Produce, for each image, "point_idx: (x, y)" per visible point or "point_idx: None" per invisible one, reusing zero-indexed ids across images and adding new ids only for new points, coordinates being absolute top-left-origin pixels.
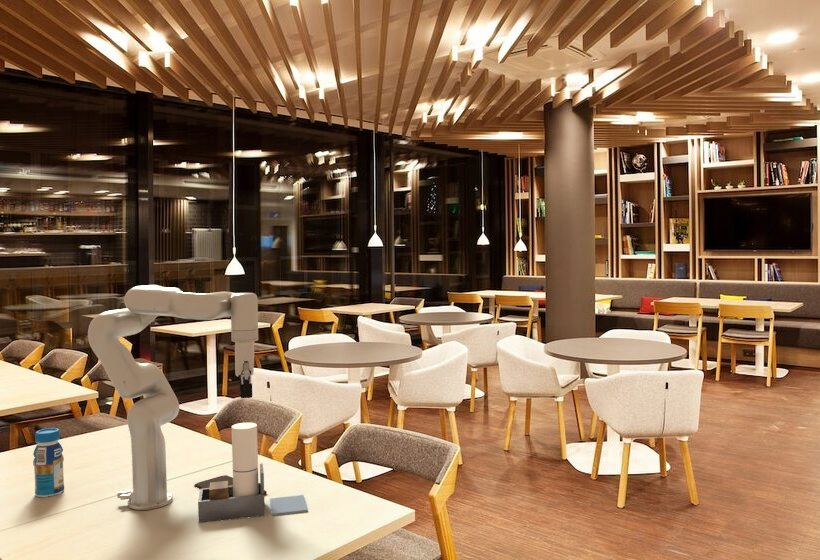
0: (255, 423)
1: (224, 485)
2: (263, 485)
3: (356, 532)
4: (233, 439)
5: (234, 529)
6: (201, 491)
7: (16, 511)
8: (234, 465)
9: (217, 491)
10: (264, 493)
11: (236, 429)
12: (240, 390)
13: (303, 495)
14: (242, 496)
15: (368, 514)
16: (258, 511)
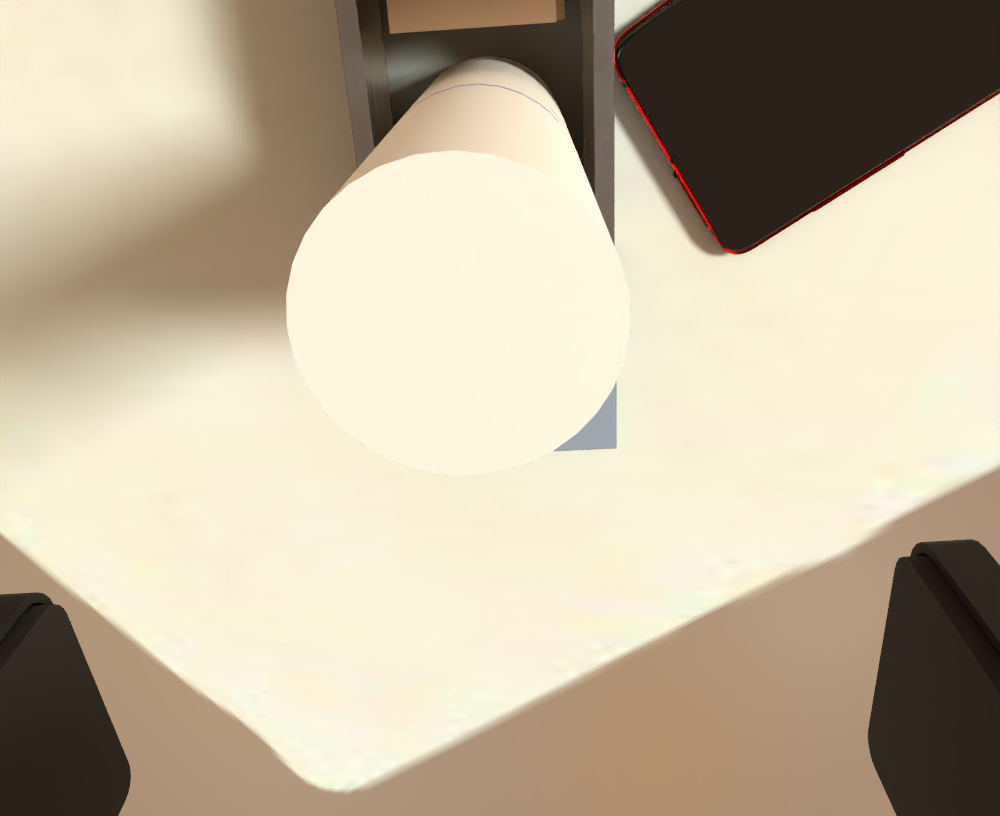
0: (537, 457)
1: (450, 1)
2: None
3: (146, 617)
4: (378, 151)
5: (218, 78)
6: None
7: None
8: (409, 112)
9: None
10: (717, 241)
11: (310, 229)
12: (905, 560)
13: (607, 448)
14: (369, 141)
15: (327, 674)
16: None
